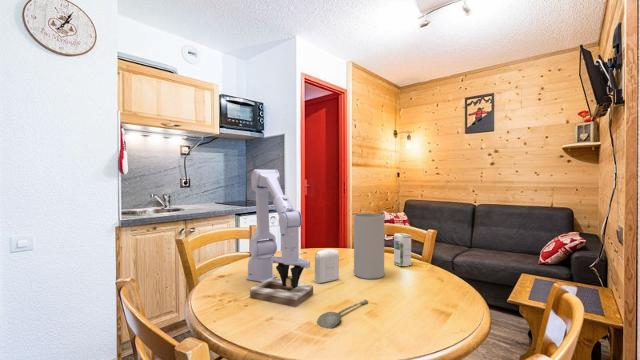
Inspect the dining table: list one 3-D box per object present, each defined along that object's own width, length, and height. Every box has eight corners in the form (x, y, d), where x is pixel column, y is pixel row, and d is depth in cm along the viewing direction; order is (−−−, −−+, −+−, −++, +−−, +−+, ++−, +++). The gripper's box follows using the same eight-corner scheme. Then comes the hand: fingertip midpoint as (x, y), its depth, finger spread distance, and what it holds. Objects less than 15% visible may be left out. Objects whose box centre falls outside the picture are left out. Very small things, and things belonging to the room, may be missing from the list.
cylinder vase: (382, 270, 135) (382, 213, 135) (385, 280, 123) (385, 217, 122) (353, 269, 136) (353, 213, 136) (354, 279, 124) (354, 216, 124)
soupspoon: (311, 326, 87) (328, 336, 82) (311, 315, 87) (329, 324, 82) (358, 301, 103) (375, 307, 98) (358, 291, 103) (375, 297, 98)
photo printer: (334, 276, 127) (334, 246, 127) (340, 279, 123) (340, 248, 123) (313, 281, 121) (312, 250, 121) (319, 284, 118) (319, 252, 118)
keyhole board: (250, 297, 105) (250, 288, 105) (270, 286, 116) (270, 278, 116) (296, 307, 97) (296, 297, 97) (313, 294, 108) (313, 285, 108)
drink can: (393, 264, 145) (393, 233, 144) (403, 263, 147) (403, 232, 147) (401, 267, 139) (401, 235, 139) (411, 266, 142) (411, 234, 142)
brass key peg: (280, 296, 105) (279, 278, 105) (288, 290, 109) (288, 274, 109) (291, 298, 102) (291, 281, 102) (299, 293, 107) (299, 276, 106)
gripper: (314, 246, 105) (314, 286, 106) (279, 242, 112) (279, 279, 112) (304, 250, 99) (304, 293, 99) (267, 246, 106) (267, 285, 106)
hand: (290, 286), depth 105 cm, fingers open, 3 cm apart
